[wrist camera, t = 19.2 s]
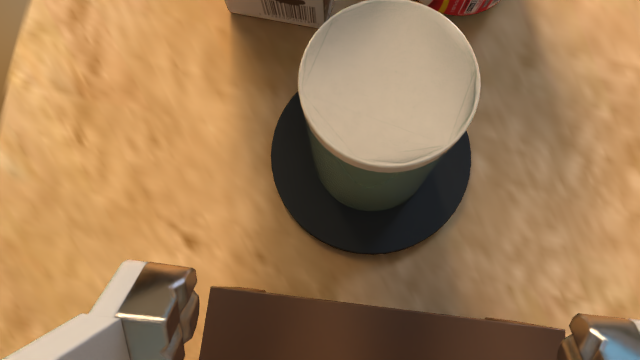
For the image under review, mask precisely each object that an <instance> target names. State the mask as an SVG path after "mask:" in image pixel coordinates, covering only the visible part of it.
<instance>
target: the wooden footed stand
mask: <svg viewBox="0 0 640 360" xmlns="http://www.w3.org/2000/svg"><path fill="white" fill-rule="evenodd" d="M564 338H565V330H563V329H558V328H552V327H546V326H540V325H534V324H529V323H523V322H517V321H511V320H502V319H494V318H485V319H476V318H468V317H460V316H452V315H444V314H436V313H428V312H419V311H411V310H403V309H395V308H387V307H379V306H371V305H362V304H354V303H346V302H338V301H330V300H322V299H314V298H305V297H297V296H289V295H281V294H273V293H266V291H265V290H258V289H249V288H241V287H216V286H212V287H211V289H210V295H209V301H208V307H207V313H206V319H205V326H204V332H203V338H202V344H201V350H200V357H199V360H557V351H558V348H559V346H560V344H561V341H562V340H563V339H564Z"/></svg>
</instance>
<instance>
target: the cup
mask: <svg viewBox="0 0 640 360" xmlns="http://www.w3.org/2000/svg"><path fill="white" fill-rule="evenodd" d="M480 90H481V78H480V71H479V66H478V63H477V59H476V56H475V54H474V51H473V49H472V47H471V45H470V43H469V42H468V40H467V39H466V37H465V36H464V34H463V33H462V32H461V31H460V30H459V28H458V27H457V26H456V25H455V24H453V23H452V22H451V21H450V20H449V19H448V18H446V17H445V16H444V15H442V14H441V13H439V12H438V11H436V10H434V9H432V8H430V7H428V6H425V5H423V4H420V3H417V2H414V1H410V0H367V1H362V2H359V3H356V4H354V5H351V6H349V7H347V8H345V9H343V10H341V11H339V12H338V13H336V14H335V15H333V16H332V17H330V18H329V19H328V20H327V21H326V22H325V23H323V24H322V26H321V27H320V28H319V29H318V30H317V31H316V32H315V34H314V35H313V36H312V38H311V39H310V41H309V43H308V45H307V46H306V48H305V50H304V53H303V56H302V59H301V62H300V67H299V72H298V92H299V98H300V103H301V107H302V111H303V114H304V117H305V122H306V127H307V132H308V137H309V142H310V147H311V153H312V158H313V163H314V167H315V171H316V174H317V177H318V178H319V180H320V182H321V184H322V185H323V187H324V188H325V190H326V191H327V192H328V193H329V194H330V195H331V196H332V197H334V198H335V199H336V200H337V201H339V202H341V203H342V204H344V205H346V206H348V207H351V208H354V209H357V210H362V211H382V210H386V209H390V208H393V207H396V206H398V205H400V204H402V203H403V202H405V201H406V200H408V199H409V198H410V197H411V196H412V195H413V194H414V193H415V192H416V191H417V190H418V189H419V187H420V186H421V185H422V184H423V182H424V181H425V180H426V179H427V177H428V176H429V175H430V174H431V172H432V171H433V170H434V168H435V167H436V166H437V165H438V163H439V162H440V161H441V160H442V158H443V157H444V156H445V154H446V153H447V152H448V151H449V150H450V149H451V148H452V147H453V146H454V145H455V144H456V143H457V141H458V140H459V139H460V138H461V136H462V135H463V134H464V133H465V131H466V130H467V128H468V127H469V125H470V123H471V122H472V120H473V117H474V115H475V113H476V110H477V107H478V103H479V98H480Z"/></svg>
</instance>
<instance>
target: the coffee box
mask: <svg viewBox="0 0 640 360" xmlns="http://www.w3.org/2000/svg"><path fill="white" fill-rule="evenodd" d="M225 3H226V5H227V8H228V10H229V11H230V12H233V13H237V14H242V15H248V16H253V17H259V18H264V19H270V20H275V21H281V22H286V23H292V24H297V25H303V26H308V27H314V28H320V27H321V26H322V24H323V23H325V22H326V21H327V20H328V19H329V18H330V14H331V11H332V7H333V3H334V0H225Z"/></svg>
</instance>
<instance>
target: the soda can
mask: <svg viewBox="0 0 640 360" xmlns="http://www.w3.org/2000/svg"><path fill="white" fill-rule="evenodd" d="M419 1H420V2H421V3H422V4H424V5H425V6H428V7H430V8H432V9H434V10H436V11H438V12H440V13H444V14H448V15H457V16H461V15H471V14H476V13H479V12H482V11H485V10H487V9H489V8H491V7H493V6H494V5H495V4H497V3H498V2H499V1H500V0H419Z"/></svg>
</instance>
